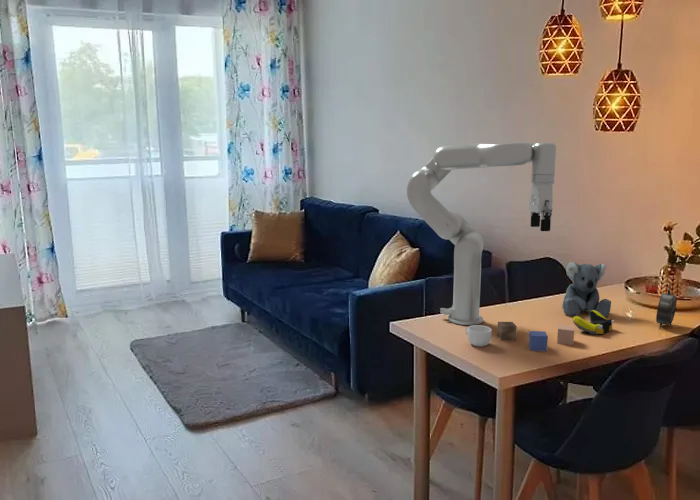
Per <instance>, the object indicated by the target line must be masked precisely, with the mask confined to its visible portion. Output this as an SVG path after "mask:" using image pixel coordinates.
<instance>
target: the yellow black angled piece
mask: <svg viewBox="0 0 700 500" xmlns="http://www.w3.org/2000/svg"><path fill="white" fill-rule="evenodd" d="M588 316H589V321H590V322H589V321H587V320H585V319H583V318H582V317H581V316H579V315H578V316H573V319H572V322H573V324H574V325H575V326H576V327H577V328H578V329H579V330H581V331H585V332H587V333H589V334H590V335H593V336H594V335H595V336H596V335H604V334H605V333H608V332H610V331H613V323H614V322H615V320H614V319H611V318H610V319H607V317H604V316H603V315H601V314H600V313H599V312H598V311H595V310H592V311H590V312H589V313H588Z"/></svg>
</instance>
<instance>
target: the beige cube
mask: <svg viewBox="0 0 700 500" xmlns="http://www.w3.org/2000/svg"><path fill="white" fill-rule="evenodd" d="M557 326H558V327H557V340H556V343H557V344H560V345H569V346H574V340H575V337H574V336H575V326H576V325H575V326H574V325H564V324H558V325H557Z"/></svg>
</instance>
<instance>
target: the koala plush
mask: <svg viewBox="0 0 700 500" xmlns="http://www.w3.org/2000/svg"><path fill="white" fill-rule="evenodd" d="M565 269H566V271H565V272H566V275H567V277H568V278H569V279H570V280H571V281H573V283H570V284H569V285H568V287H567V288H566V290H565V295H564V297H563V301H562V303H561V305H562V309H563V313H564V314H565V315H567V316H569V317H575V316H578V317H579V315H580V314H581V312H582V311H585V312H586V313H588V314H589V312H590V311H592V310H595V311H598V312H599V313H600V314H601V315H603V316H604V317H605V318H607V317H608V316H610V315H609V314H610V312H611V308H612V300H610V299H607V298H602V299H601V300H600V298H601V297H600V293H599V290H598V288H597V285H598V282H599V281H601V280H602V278H603V277H604V276H605V274H606V269H607V265H606V264H603V263H601V264H600V263H598V264H597V265H595V266H594V265H592V264H589V263H583V264H578V263H576V262H573V261H570V262H569V263H568V264H566V266H565ZM569 279H568V280H569Z"/></svg>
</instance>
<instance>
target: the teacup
mask: <svg viewBox="0 0 700 500" xmlns="http://www.w3.org/2000/svg"><path fill="white" fill-rule="evenodd" d="M464 331H465V334H466V335H467V339H468V342H469V343H470V344H471V345H472V346H475V347H480V348H481V347H486V346H487V345H489V343H490V342H491V340H492V334H493V333H492V332H493V330H492V328H491V327H489V326H486V325H480V324H476V325H468V326H467V327H466V328H465V330H464Z"/></svg>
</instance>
